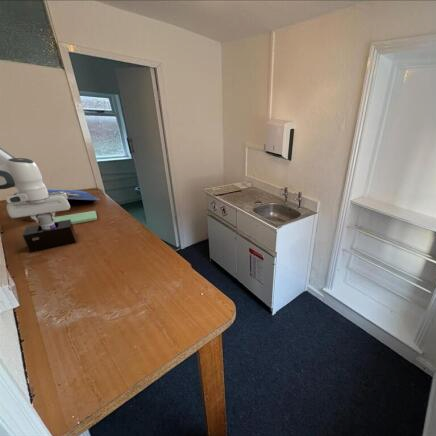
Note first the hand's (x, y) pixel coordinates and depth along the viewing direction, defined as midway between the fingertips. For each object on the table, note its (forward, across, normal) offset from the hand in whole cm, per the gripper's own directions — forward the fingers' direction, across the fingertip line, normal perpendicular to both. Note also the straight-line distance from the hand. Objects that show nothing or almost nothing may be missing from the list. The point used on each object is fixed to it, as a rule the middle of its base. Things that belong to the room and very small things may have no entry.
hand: (46, 221), depth 112 cm
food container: (+12, +13, -44) cm, 48 cm away
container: (+12, 0, 0) cm, 12 cm away
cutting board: (+12, -8, -30) cm, 33 cm away
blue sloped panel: (+16, -4, -72) cm, 73 cm away
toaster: (+12, 0, 0) cm, 12 cm away
